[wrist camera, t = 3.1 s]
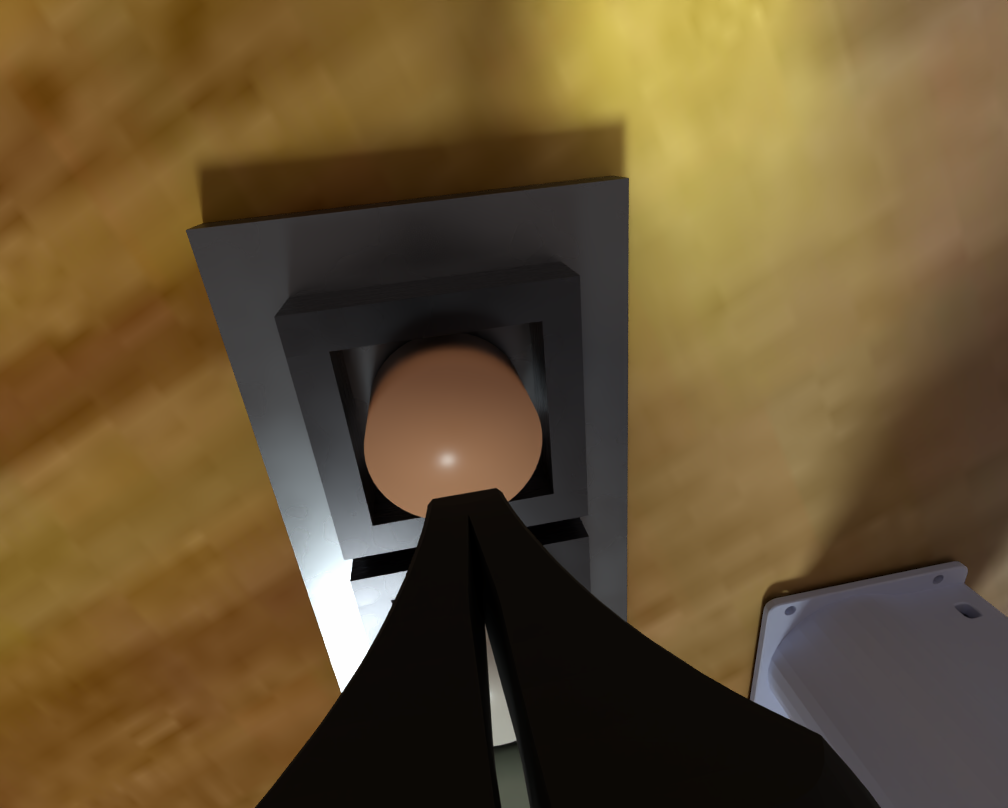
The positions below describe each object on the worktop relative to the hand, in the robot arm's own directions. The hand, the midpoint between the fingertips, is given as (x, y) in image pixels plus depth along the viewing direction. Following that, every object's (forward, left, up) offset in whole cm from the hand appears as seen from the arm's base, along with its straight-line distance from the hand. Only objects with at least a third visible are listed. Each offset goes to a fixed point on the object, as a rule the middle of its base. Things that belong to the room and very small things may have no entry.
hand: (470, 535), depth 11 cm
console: (0, +8, -7) cm, 11 cm away
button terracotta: (0, 0, -6) cm, 6 cm away
